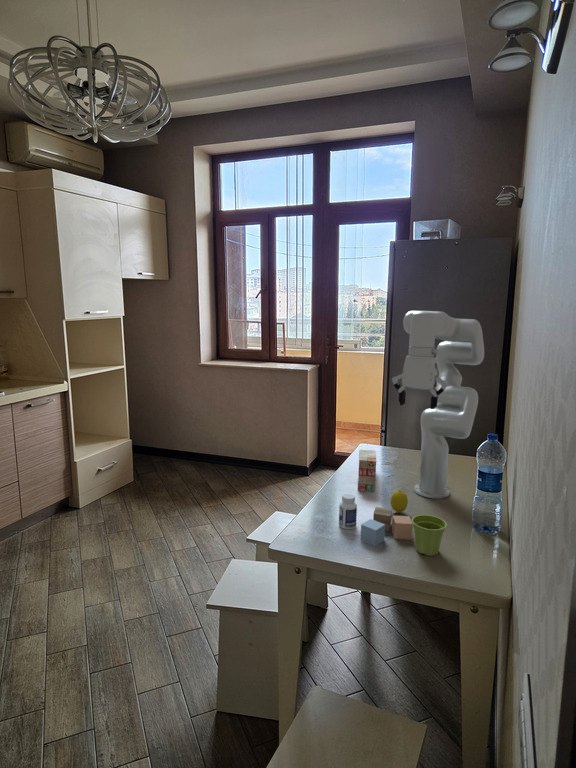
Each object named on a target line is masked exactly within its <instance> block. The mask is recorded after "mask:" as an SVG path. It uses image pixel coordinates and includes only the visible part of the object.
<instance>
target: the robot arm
mask: <svg viewBox="0 0 576 768" xmlns="http://www.w3.org/2000/svg"><path fill="white" fill-rule="evenodd" d="M402 324H403V325H402V327H403V330H404V332H405V333H407V334H408V335H409V341H408V342H409V343H408V354H407V355H406V357H405V359H404V364H403V370H402V373H400V374H398V375H395V376H393V377H392V378H391V381H392V383H393V386H394V388H395V389H396V390H397V392H398V402H399V406H404V405H405V404H406V396H407V393H406V391H405V390H407V388H408V389H415V390H422V391H423V390H424V391H429V392H430V393H431V395H432V396H431V397H430V408H426V409H424V410H423V411H422V412H421V414H420V421H419V422H420V430H421V445H420V447H421V448H420V458H419V459H420V462H419V475H418V476H419V477H418V483H416V484H414V485H413V486H414V487H413V491H414V492H415V493H416V495H419V496H421V497H423V498H424V497H425V498H429V499H445V498H447V497H449V496H450V490H449V488H448V487H446V486H447V473H448V464H449V463H448V462H449V461H448V460H449V450H450V449H449V444H448V442H447V440H446V438H445V437H447V438H448V437H449V438H454V439H459V440H460V439H462V440H464V439H465V440H466V439H467V438H468V437H469V436H470V434H471V431H472V429H473V425H474V421H475V417H476V414H477V409H478V405H479V393H478V392H477V390H476V389H475V388H472V387H470V386H461V385H462V382H463V377H462V375H461V373H460V371H459V370H458V368H457V367H455V366H454V365H455V364H457V365H466V366H467V365H468V366H477V365H480V364H481V363H483V361H484V358H485V345H484V337H483V336H484V335H483V329H482V326H481V322H479V321H478V320H477V319H474V318H455V317H452V316H450V315H448V313H446V312H444V311H441V310H439V311H436V310H410V311H408V312H406V313H405V315H404V317H403V320H402ZM436 340H440V341H441V340H442V341H441V342H439V344H438V345H437V346H436V347H435V342H436ZM400 379H401V384H400V383H399V380H400Z"/></svg>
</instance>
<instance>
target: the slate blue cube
mask: <svg viewBox="0 0 576 768" xmlns="http://www.w3.org/2000/svg"><path fill="white" fill-rule="evenodd" d="M385 532H386V530H385V524H383V523H380V522H377V521H375V520H373V519H372V518H370V519H368V520H366V521H365V522H363V523H362V524H360V541H361V542H363V543H366V544H368V545H370V546H373V547H376V546H377V545H379V544H381V543H382V542H384V541H385V534H386V533H385Z"/></svg>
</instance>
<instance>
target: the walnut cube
mask: <svg viewBox="0 0 576 768" xmlns="http://www.w3.org/2000/svg"><path fill="white" fill-rule="evenodd" d="M392 513H393V508H387V507H380V506H379V507H378V506H375V508H374V510H373V519H372V520H375V521H377V522H380V523H383V524H385V532H386V531H387V532H389V531H390V529H391V527H392V516H393V515H392Z"/></svg>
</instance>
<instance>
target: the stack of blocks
mask: <svg viewBox="0 0 576 768" xmlns="http://www.w3.org/2000/svg"><path fill="white" fill-rule="evenodd" d="M376 453H377V452H376V450H370V449H359V453H358V457H359V458H358V479H357V491H358V492H366V493H367V492H370V493H375V490H376V489H375V488H376V475H377V474H376V473H377V454H376Z"/></svg>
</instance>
